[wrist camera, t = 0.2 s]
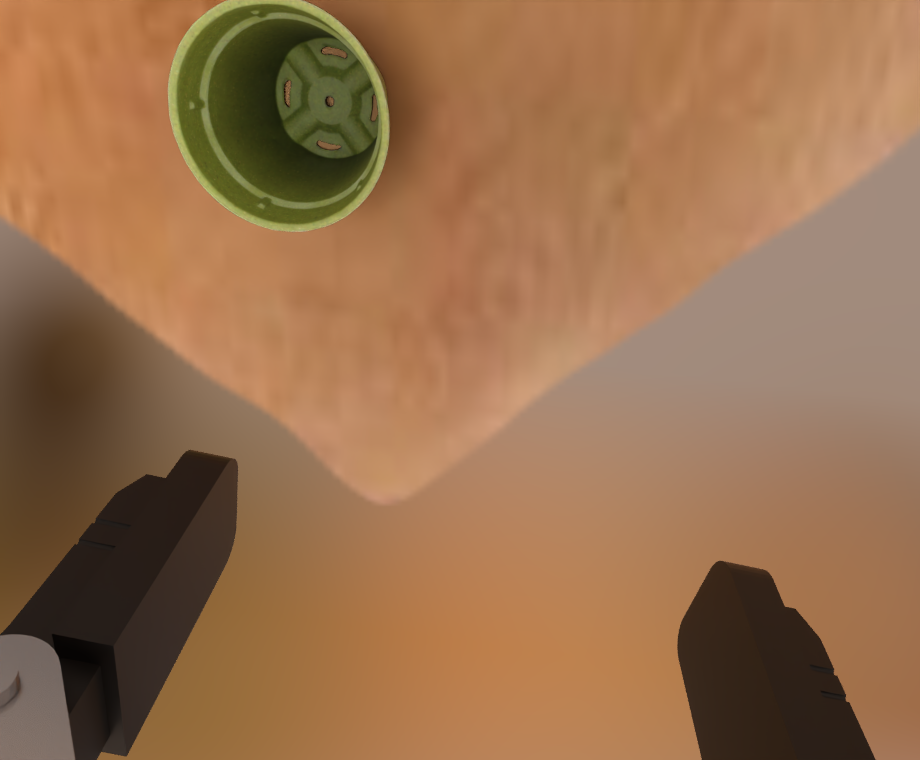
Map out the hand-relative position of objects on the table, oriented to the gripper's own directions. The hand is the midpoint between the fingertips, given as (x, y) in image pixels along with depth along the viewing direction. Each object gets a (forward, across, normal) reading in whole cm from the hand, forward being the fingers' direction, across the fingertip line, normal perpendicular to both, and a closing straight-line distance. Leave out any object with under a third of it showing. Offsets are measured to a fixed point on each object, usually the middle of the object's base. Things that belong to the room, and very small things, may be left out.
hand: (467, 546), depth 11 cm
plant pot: (+29, +10, -1) cm, 31 cm away
